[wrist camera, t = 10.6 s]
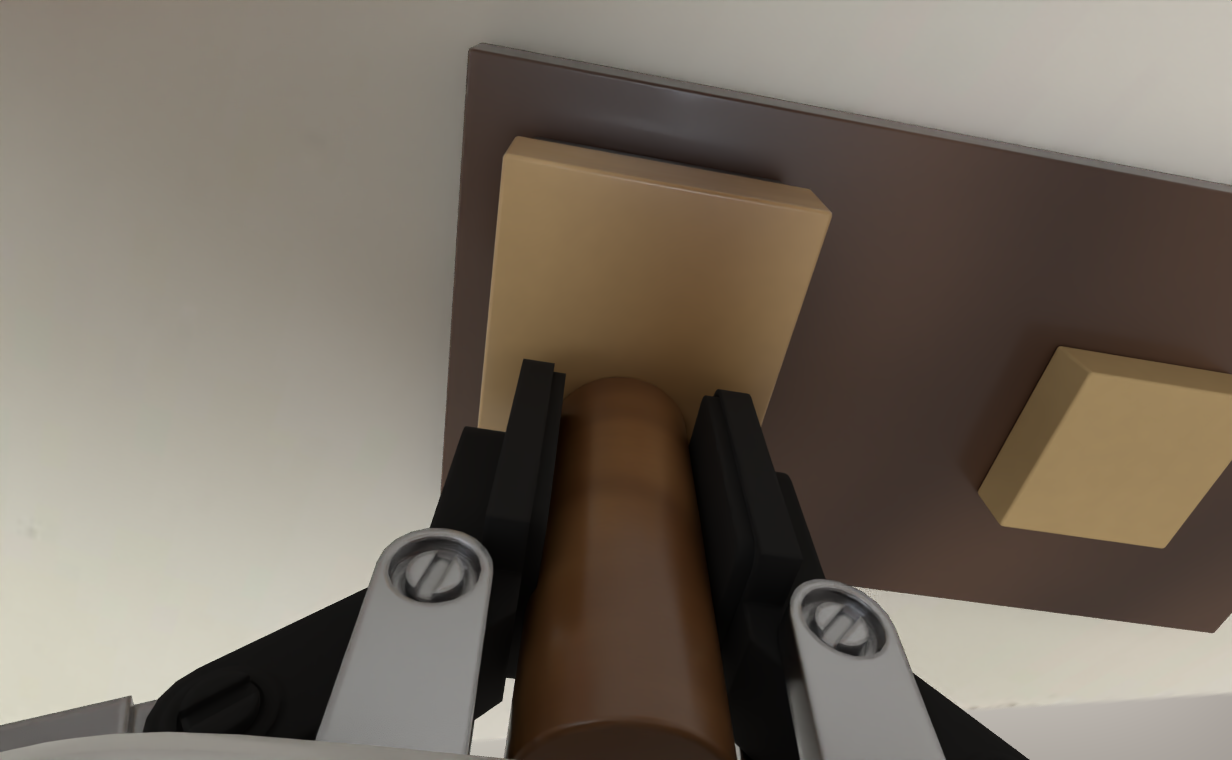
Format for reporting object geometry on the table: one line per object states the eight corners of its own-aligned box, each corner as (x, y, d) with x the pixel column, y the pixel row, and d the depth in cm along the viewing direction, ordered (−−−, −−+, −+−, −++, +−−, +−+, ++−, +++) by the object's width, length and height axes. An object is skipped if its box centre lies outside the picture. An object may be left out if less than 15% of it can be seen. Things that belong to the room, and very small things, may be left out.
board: (447, 501, 18) (437, 533, 17) (480, 42, 13) (467, 47, 12) (1183, 600, 20) (1214, 634, 19) (1484, 233, 15) (1552, 253, 14)
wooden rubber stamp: (482, 509, 17) (365, 974, 9) (523, 121, 12) (362, 369, 4) (685, 536, 17) (744, 1002, 9) (796, 171, 13) (1081, 477, 5)
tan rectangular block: (975, 492, 16) (1000, 527, 15) (1057, 344, 15) (1091, 372, 13) (1131, 515, 17) (1165, 550, 16) (1231, 372, 15) (1277, 402, 14)
